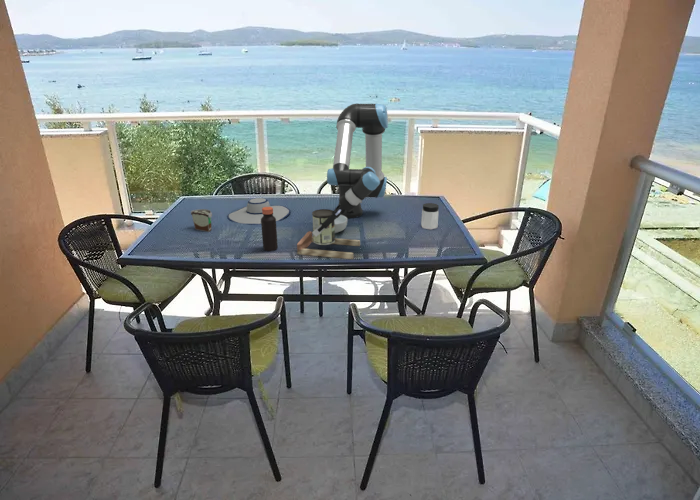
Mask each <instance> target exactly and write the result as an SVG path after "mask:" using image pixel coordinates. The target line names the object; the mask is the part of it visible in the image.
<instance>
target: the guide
mask: <svg viewBox="0 0 700 500" xmlns="http://www.w3.org/2000/svg"><path fill="white" fill-rule="evenodd" d="M312 232H313V231H311V230H309V231H307V232H306V233H305V235H303V237H302V238H301V239H300V240H299V241H298V242H297V244H296V254H297V255H304V256H314V257H325V258H334V259H335V258H336V259H348V260H353V259H354V252H349V251H338V250H337V251H336V250H325V249H317V248H316V249H314V248H312V249H311V248H309V246H310V245H311V244H312V243H314V242H313V240H314V239H313V233H312ZM331 245H341V246H354V247H360V246H361V240H360V239H351V238H350V239H348V238H337V237H335V242H334V243H332V244H331Z"/></svg>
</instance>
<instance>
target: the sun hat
mask: <svg viewBox="0 0 700 500" xmlns="http://www.w3.org/2000/svg"><path fill="white" fill-rule="evenodd" d="M264 207H272V208H273V216H274V217H275V218H276V222H281V221H282V220H284V219H285V218H287V217H288V216H289V215H290V214H291V212H292V211H291V209H290V208H288V207H287V206H284V205H271V204H270V202H269V200H268V199H267V198H264V197H255V198H251V199H249V200H248V201H247V205H246V206H243V208H240V209H238V210H235V211H233V212H231V213H229V214H228V215H226V217H227V220H229V222H231V223H236V224H243V225H249V226H252V225H253V226H255V225H260V224H261V218H262V217H263V213H262V208H264Z"/></svg>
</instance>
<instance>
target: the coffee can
mask: <svg viewBox="0 0 700 500" xmlns="http://www.w3.org/2000/svg"><path fill="white" fill-rule="evenodd" d="M333 211H334V210H332V209H328V208H327V209H326V208H323V209H322V208H321V209H316V210H314V211H312V212H311V215H312V232H313V231H314V230H315V229H316V228H317V227H319V226H320V225H321V224H320V223H323V222H324V221H325V220H326V219H327V218H328V217H329V216H331V215H332V212H333ZM312 236H313V239H314V240H313V242H312V243H314V244H316V245H318V246H319V245H320V246H327V245H333V244H332V243H334V242H335V238H336V233H335V222H334V221H333V222H332V223H331V224H330V225H329V226H328V227H327V228H326V229H324V230H323V231H322V232H321V233H320V234H319V235H318V236H317V237H316V236H315V235H314V234H313V233H312Z"/></svg>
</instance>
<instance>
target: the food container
mask: <svg viewBox="0 0 700 500" xmlns="http://www.w3.org/2000/svg"><path fill="white" fill-rule="evenodd" d="M190 215H191V218H192V221H193V226H194V229H195V230H197V231H203V232H206V233H209V232H211V231H212V217H213V213H212V211H211V210H210V209H207V208H206V209H205V208H202V209H201V208H199V209H193V210H190Z"/></svg>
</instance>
